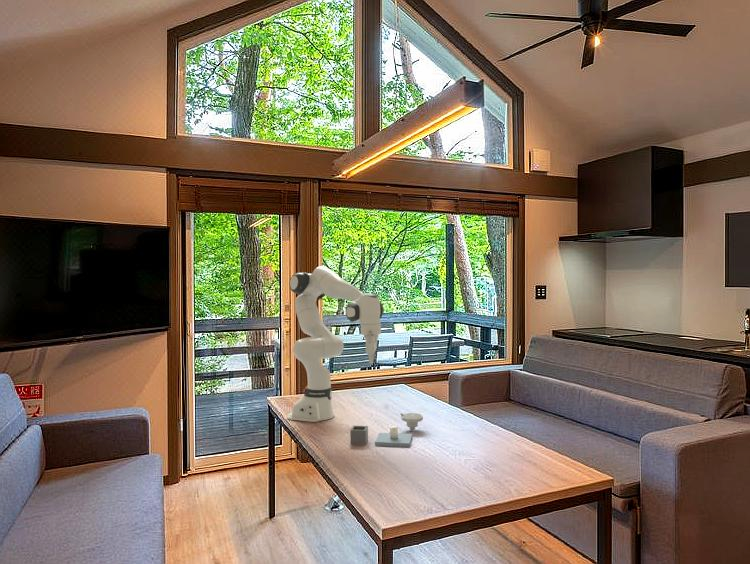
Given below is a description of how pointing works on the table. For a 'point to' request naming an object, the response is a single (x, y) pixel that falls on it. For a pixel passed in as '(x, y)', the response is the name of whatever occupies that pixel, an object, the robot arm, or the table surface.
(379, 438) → the base
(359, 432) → the collar
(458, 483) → the table surface
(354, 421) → the table surface
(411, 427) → the showerhead
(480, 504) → the table surface
